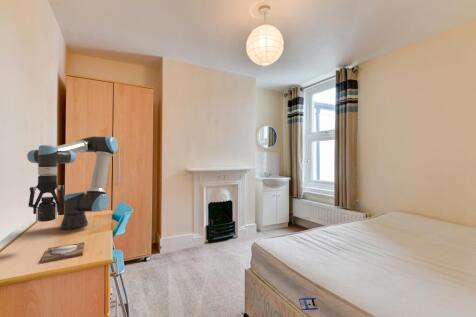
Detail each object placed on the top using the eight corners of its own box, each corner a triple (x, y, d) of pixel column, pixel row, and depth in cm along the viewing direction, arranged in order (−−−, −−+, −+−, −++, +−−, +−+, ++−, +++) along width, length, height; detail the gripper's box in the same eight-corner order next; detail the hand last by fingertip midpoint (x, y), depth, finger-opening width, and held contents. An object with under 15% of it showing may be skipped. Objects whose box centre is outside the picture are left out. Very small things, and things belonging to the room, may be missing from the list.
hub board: (48, 250, 111) (48, 246, 111) (84, 244, 119) (84, 240, 119) (41, 263, 98) (41, 258, 98) (82, 255, 106) (82, 251, 106)
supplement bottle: (35, 222, 110) (35, 198, 110) (41, 219, 116) (41, 196, 117) (52, 221, 113) (53, 197, 113) (57, 217, 119) (57, 195, 119)
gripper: (19, 176, 106) (18, 223, 106) (70, 174, 117) (69, 218, 117) (24, 175, 113) (23, 220, 113) (72, 174, 123) (71, 215, 123)
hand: (47, 219), depth 115 cm, fingers closed on supplement bottle, 7 cm apart
